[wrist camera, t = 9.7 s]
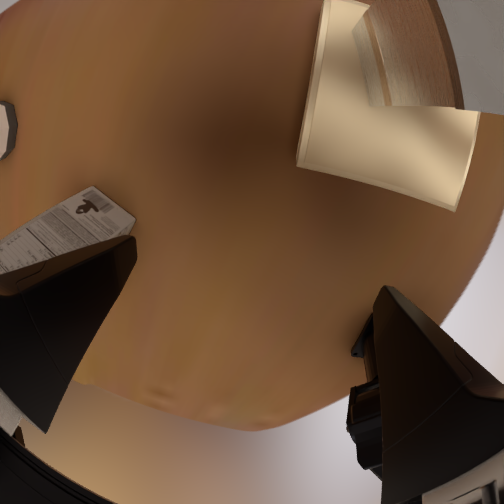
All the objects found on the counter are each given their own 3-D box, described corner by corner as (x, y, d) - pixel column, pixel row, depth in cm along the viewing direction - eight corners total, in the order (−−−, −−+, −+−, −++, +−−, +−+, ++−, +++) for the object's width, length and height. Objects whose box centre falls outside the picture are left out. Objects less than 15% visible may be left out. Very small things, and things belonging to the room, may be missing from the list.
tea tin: (440, 106, 12) (557, 126, 3) (368, 107, 13) (464, 110, 4) (423, 33, 10) (524, -5, 1) (350, 30, 11) (412, -50, 2)
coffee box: (111, 277, 28) (27, 382, 14) (72, 244, 27) (-21, 332, 13) (138, 217, 24) (16, 336, 10) (91, 181, 23) (-41, 265, 9)
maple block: (432, 194, 19) (456, 213, 15) (295, 156, 19) (296, 167, 16) (458, 66, 13) (486, 62, 9) (320, 13, 13) (325, -8, 10)
